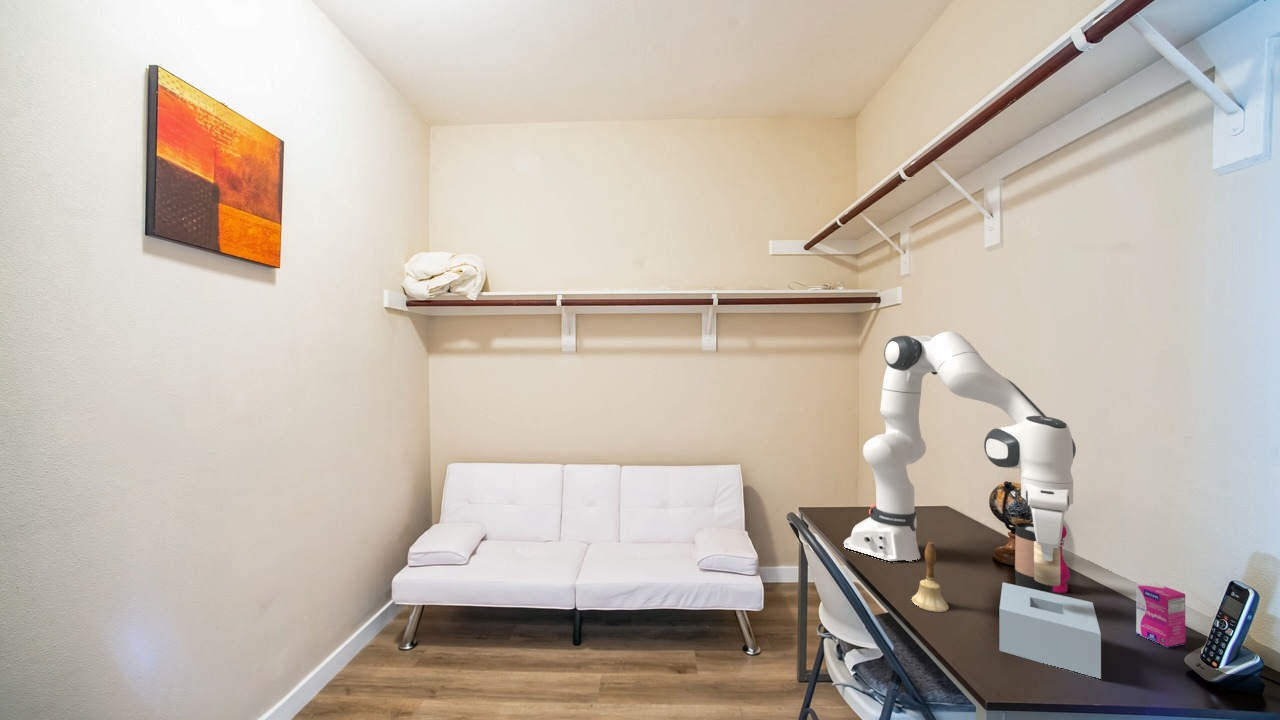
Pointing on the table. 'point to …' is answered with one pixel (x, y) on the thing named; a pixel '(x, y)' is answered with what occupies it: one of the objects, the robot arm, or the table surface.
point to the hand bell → (930, 586)
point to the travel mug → (1026, 558)
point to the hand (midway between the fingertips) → (1046, 555)
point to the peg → (1046, 567)
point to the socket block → (1050, 629)
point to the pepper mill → (1062, 568)
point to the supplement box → (1160, 614)
